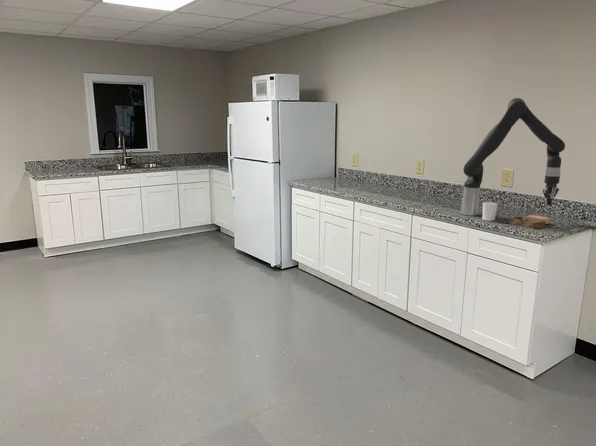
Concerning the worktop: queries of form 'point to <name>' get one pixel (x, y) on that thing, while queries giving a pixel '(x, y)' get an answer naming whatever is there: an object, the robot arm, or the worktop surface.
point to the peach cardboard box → (537, 219)
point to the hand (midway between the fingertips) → (549, 204)
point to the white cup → (489, 211)
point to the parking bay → (526, 223)
